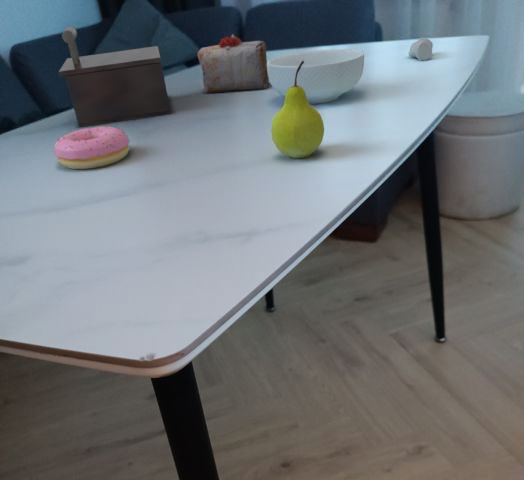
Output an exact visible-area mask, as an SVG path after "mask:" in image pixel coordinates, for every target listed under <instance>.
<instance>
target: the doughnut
mask: <svg viewBox="0 0 524 480" xmlns="http://www.w3.org/2000/svg"><path fill="white" fill-rule="evenodd" d="M129 144H130V139H129V136H128V135H127V134H126V132H125V131H124V130H123V129H121V128H119V127H113V126H112V125H109V126H100V125H98V126H93V127H87V128H82V129H78V130H75V131H71V132H68V133H67V134H65V135H62V136H61V137H60V138H58V140H56V143H55V144H54V145H53V148H54V151H53V153H54V156H55V157H57V160H58V162H59V163H60V164H61V165H62V166H64V167H66V168H67V169H71V170H72V169H73V170H89V169H96V168H97V169H98V168H102V167H106V166H110V165H112V164H116V163H117V162H119V161H122V160H123V159H124V158H125V157H126V156H127V155H128V153H129V151H130V145H129Z"/></svg>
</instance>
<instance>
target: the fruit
mask: <svg viewBox="0 0 524 480" xmlns="http://www.w3.org/2000/svg"><path fill="white" fill-rule="evenodd" d="M303 63H304V61H302V62H301V64H300V65H299V67H298V69H297V72H296V76H295V83H294V86H292V87H290V88H289V89H288V91H287V93H286V96H284V97H285V98H284V103H283V106H282V108H281V109H279V111H278V112H276V113H275V115H274V117H273V118H272V121H271V127H270V129H271V130H270V131H271V138H272V140H273V141H272V142H273V144H274V146H275V148H276V149H277V150H278V151H279V152H280V153H281V154H284V155H286V156H288V157H290V158H292V159H305V158H308V157H310V156H311V155H313V153H315V152H316V151H317V150H318V148H319V147H321V146H320V145H321V144H322V142H323V139H324V133H325V125H324V121H323V118H322V116H321V114H320V113H319V111H318V110H317V109H316V108H315V107H314V106H312V104H309V103H308V100H307V98H306V94H305V91H304V89H303V88H302V87H301V86H297V81H296V80H297V74H298V72H299V70H300V69H301V66H302V65H303Z"/></svg>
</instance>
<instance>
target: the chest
mask: <svg viewBox="0 0 524 480" xmlns="http://www.w3.org/2000/svg"><path fill="white" fill-rule="evenodd" d="M64 77H65V81H66V84H67V88H68V91H69V95H70V99H71V102H72V106H73V111H74V115H75V118H76V121H77V124H78V128H85V127H92V126H93V127H94V126H100V125H107V124H111V123H118V122H125V121H132V120H138V119H145V118H153V117H158V116H160V117H161V116H166V115H171V114H172V113H171V107H170V103H169V96H168V91H167V86H166V80H165V74H164V69H163V63H162V61H161V62H160V63H153V64H146V65H139V66H132V67H125V68H117V69H110V70H103V71H96V72H89V73H82V74H75V75H68V76H64Z"/></svg>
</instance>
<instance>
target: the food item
mask: <svg viewBox="0 0 524 480" xmlns="http://www.w3.org/2000/svg"><path fill="white" fill-rule="evenodd" d="M197 58H198V62H199V65H200V67H201V71H202V83H203V88H204V92H205V94H217V93H218V94H219V93H225V92H227V93H228V92H240V91H255V90H265V89H267V88H269V85H270V81H269V78H268V73H267V62H268V59H267V44H266V42H265V41H263V40H253V41H242V39H241V38H240V37H237V36H235V34H234V33H232V34H231V35H230V37H228V35H226V36H225V37H223V38H221V39H220V42H219V43H218V44H215V45H210V46H206V47H203V46H202V47H201V48H200V49H199V51H197Z"/></svg>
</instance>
